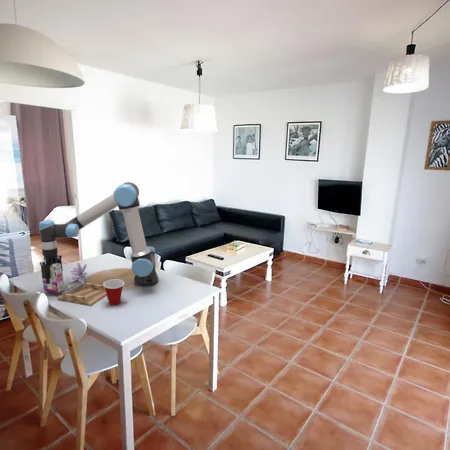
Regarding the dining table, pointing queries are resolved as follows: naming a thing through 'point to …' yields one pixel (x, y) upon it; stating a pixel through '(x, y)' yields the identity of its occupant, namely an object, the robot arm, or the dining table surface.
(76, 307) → the dining table surface
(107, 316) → the dining table surface
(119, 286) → the plastic cup
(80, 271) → the water lily
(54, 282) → the candy bar box
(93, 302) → the board
